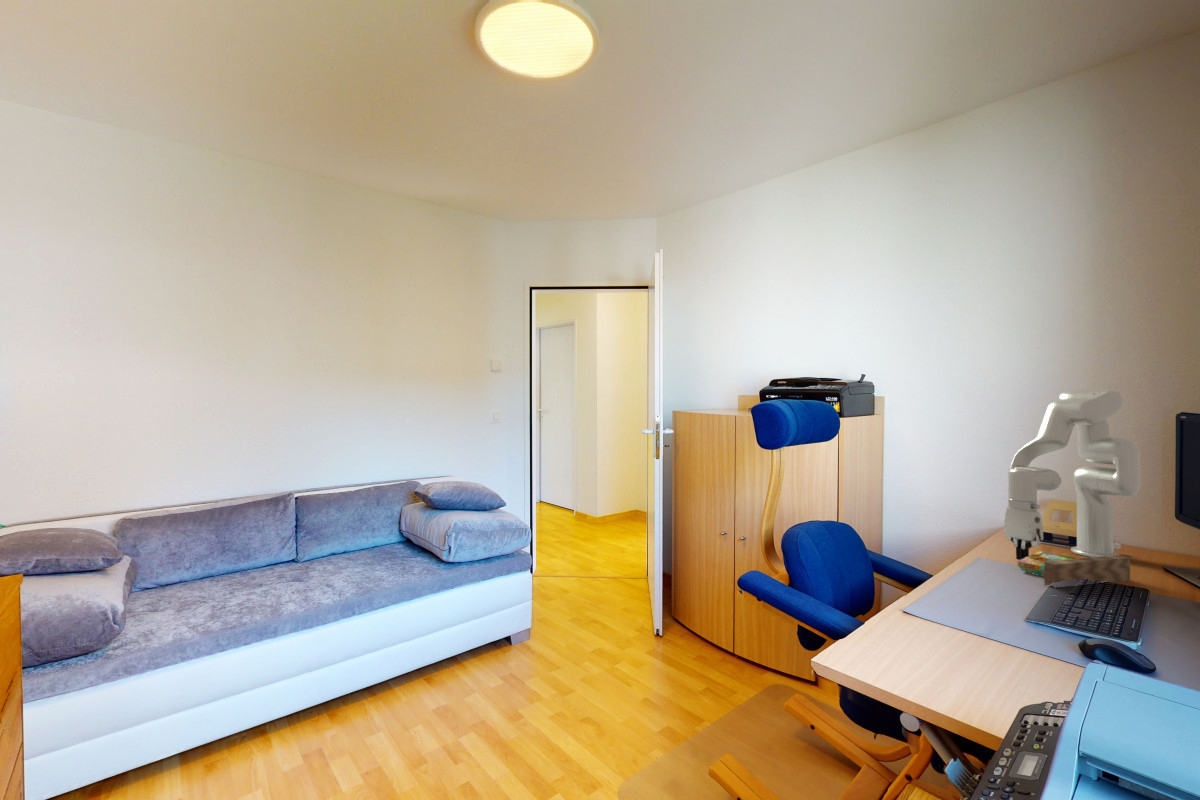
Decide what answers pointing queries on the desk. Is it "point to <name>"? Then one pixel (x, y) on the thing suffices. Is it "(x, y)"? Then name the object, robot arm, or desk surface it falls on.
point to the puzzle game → (1039, 562)
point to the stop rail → (1088, 569)
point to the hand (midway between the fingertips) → (1022, 559)
